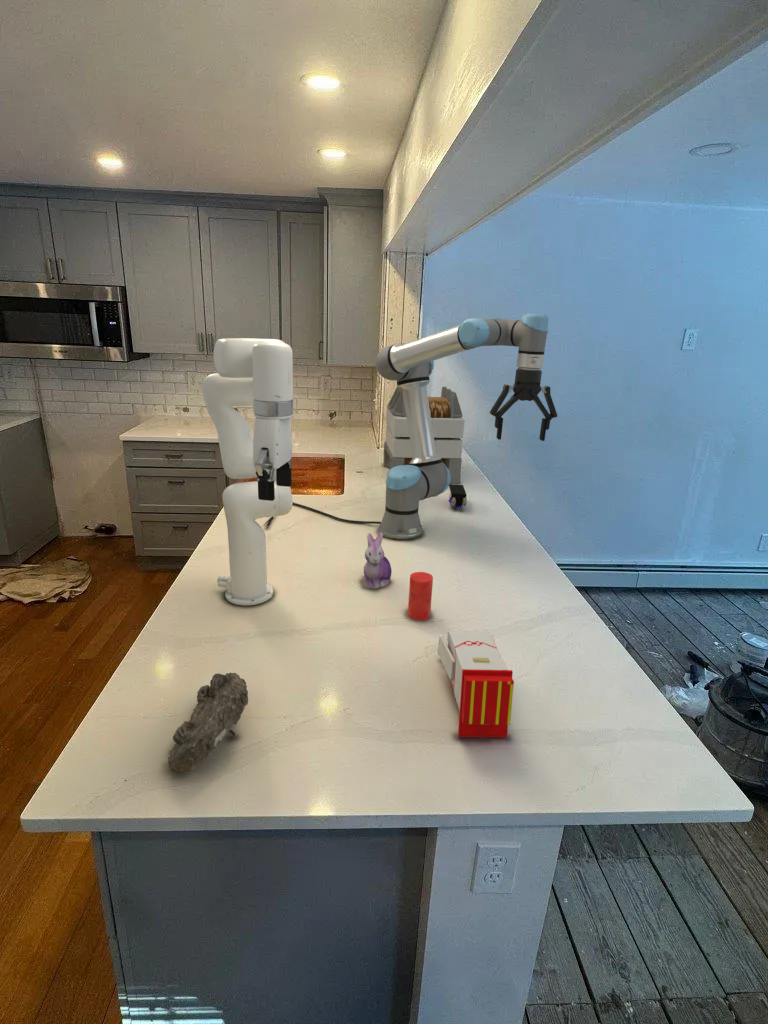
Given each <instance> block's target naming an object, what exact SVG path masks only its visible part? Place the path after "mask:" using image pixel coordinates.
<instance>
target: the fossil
mask: <svg viewBox="0 0 768 1024" xmlns="http://www.w3.org/2000/svg"><path fill="white" fill-rule="evenodd" d="M247 688H248V686H247V682H246V680H245V679H244V678H242V677H240V674H237V672H229V673H228V672H226V673H225V674H222V673H219V672H218V673H214V674H213V675H212V678H211V679H210V681H209V684H206V685H203V686H200V687H199V688H198V690H197V693H196V694H197V695H196V702H197V703H196V705H195V706H194V708H193V712H191V715H190V717H189V719H190V720H189V721H188V720H185V721H183V722H182V724H181V725H179V726H178V727H177V728H176V730H175V732H174V734H173V735H172V741H173V742H174V743H175V744H174V745H173V747H172V748H171V750H169V752H168V757H167V760H168V761H167V765H168V767H169V769H170V770H173V771H175V773H180V772H181V773H182V772H184V771H190V770H191V771H194V770H196V769H197V768H198V767H199V766H200V765H201V764H202V763H203V762H204V761H205V760H207V758H208V757H209V756H210V755H211V754H212V753H213V752H214V751H215V750H216V749H217V748H218V747H220V745H221V744H222V742H223V739H225V738H226V737H227V736H228V734H231V735H232V736H233V737H235V736H237V735H236V732H235V731H233V729H232V727H233V726H234V725H237V723H239V721H240V720H241V717H242V715H243V713H244V711H245V707H246V706H247V705H248V703H249V696H248V695H249V691H248V690H247Z"/></svg>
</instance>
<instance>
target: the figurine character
mask: <svg viewBox="0 0 768 1024" xmlns="http://www.w3.org/2000/svg"><path fill="white" fill-rule="evenodd" d="M448 488H449V491H450V492H449V494H448V502H449V505H450V507H452V509H453V511H456V509H460V511H463V507H464V508H465V507H467V503H468V498H467V492H466V489H465V487H464V484H457V483H450V484H449V487H448Z"/></svg>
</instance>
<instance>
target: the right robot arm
mask: <svg viewBox="0 0 768 1024" xmlns="http://www.w3.org/2000/svg"><path fill="white" fill-rule="evenodd" d="M548 333H549V316H548V315H547V314H546V313H527V312H526V313H523V314H522V317H521V319H507V318H480V317H473V318H467V319H465V320H464V321H463V322H462V323H461V324H458V325H456V326H452V327H451V328H447V329H443V330H442V331H437V332H436V333H433V334H430V335H427V336H424V337H422V338H418V339H416V340H413V341H409V342H407V343H400V342H398V343H394V344H391V345H387V346H384V347H383V348H381V349H380V350H379V351H378V353H377V355H376V357H375V368H376V370H377V372H378V374H379V375H380V376H381V377H382V378H384V379H385V380H388V381H396V388H397V387H398V388H399V389H401V390H402V392H403V398H404V404H405V411H406V417H407V423H408V430H409V436H410V443H411V449H412V455H413V458H412V460H411V461H410V465H404V466H403V465H400V466H396V467H393V468H391V469H390V468H389V470H388V472H387V474H386V479H385V504H384V505H385V507H384V508H385V509H384V513H383V515H382V519H381V521H368V520H367V521H365V520H353V519H346V518H342V517H338V516H336V515H332V514H329V513H327V512H324V511H321V510H318V509H317V508H313V507H311V506H307V505H303V504H300V503H297V502H293V501H292V506H296V507H300V508H304V509H306V510H310V511H312V512H316V513H318V514H321V515H324V516H326V517H329V518H332V519H335V520H338V521H341V522H345V523H351V524H352V523H353V524H366V525H367V524H369V525H371V524H373V525H378V533H381V532H382V533H383V538H384V537H385V538H387V539H389V540H395V541H410V540H415V539H418V538H420V537H421V536H422V535H423V525H422V524H421V518H420V515H419V507H420V506H419V505H420V501H423V500H426V499H430V498H434V497H438V496H439V495H441V494H444V493H445V492H446V491H447V489H448V488H449V484H451V483H450V479H451V476H450V472H449V469H448V468H447V467H446V465H445V464H443V463H442V459H441V457H440V456H438V455H437V454H436V448H435V441H434V435H433V428H432V422H431V415H430V408H429V402H428V397H429V396H428V395H429V394H428V389H427V387H428V385H429V383H430V382H431V380H430V376H431V375H432V374H433V370H434V368H435V367H434V366H435V362H434V361H436V360H440V359H443V358H446V357H449V356H452V355H455V354H459V353H462V352H466V351H470V350H473V349H476V348H480V347H494V346H495V347H496V346H497V347H498V346H504V347H505V346H506V347H516V348H517V347H518V351H517V358H516V359H517V360H516V369H515V376H514V383H513V385H509V384H508V383H505V384H503V386H502V390H501V392H500V394H499V396H498V397H497V399H496V401H495V402H494V403H493V406H492V407H491V409H490V411H489V415H491V416H493V417H494V428H495V429H497V430H496V436H495V438H496V439H497V440H500V441H501V440H502V433H503V424H504V417H503V416H504V415H505V413H506V412H508V410H509V409H511V407H512V406H514V404H515V403H517V402H518V401H522V402H524V401H528V402H532V401H533V402H534V403H535V405H536V407H538V409H539V411H540V413H542V415H543V416H544V417H541V424H540V431H539V438H538V439H539V440H540V441H541V442H544V441H545V440H546V434H547V431H548V430H550V427H551V420H552V419H555V418H558V413H557V410H556V406H555V404H554V400H553V397H552V395H551V386H550V385H549V386H548V385H544V386H541V382H542V374H543V371H542V370H541V369H543V367H544V360H545V359H544V358H545V351H546V344H547V338H548ZM511 391H512V392H513V394H512V395H511V396H510V398H509V399H508V400H507V401H506V402H505V403H504V401H505V400H506V398H507V396H508V394H509V393H510V392H511ZM540 392H541V393H542V394H543V397H544V399H545V402H546V404H547V407H548V409H547V408H546V407H545V405H544V404H543V402H542V400H541V399H540V397H539V396H538V395H539V394H540ZM503 403H504V404H503ZM502 404H503V405H502Z"/></svg>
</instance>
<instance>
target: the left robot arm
mask: <svg viewBox="0 0 768 1024" xmlns="http://www.w3.org/2000/svg"><path fill="white" fill-rule="evenodd" d="M212 356H213V364H214V368H215V370H216V372H215V373H211V374H209V375H206V377H204V379H203V381H202V384H201V385H202V389H201V390H202V398H203V402H204V405H205V408H206V410H207V413H208V414H209V416H210V417H209V418H210V419H211V420H212V423H213V424H214V427H215V429H216V433H217V439H218V446H219V452H220V457H221V463H222V469H223V471H224V474H225V475H226V477H228V478H230V479H233V480H244V479H245V480H247V479H256V480H253V481H245V482H243V481H242V482H236V483H232V484H230V485H228V486H226V487H225V488H224V490H223V491H222V496H221V497H222V498H221V500H222V506H223V511H224V516H225V519H226V520H225V521H226V527H227V542H228V557H229V575H230V576H223V575H218V576H217V578H216V580H217V587H219V588H225V589H226V590H225V593H224V596H225V599H226V600H227V601H228V603H229V602H230V603H231V604H233V605H236V606H237V605H238V606H257V605H260V604H263V603H265V602H267V601H269V600H270V599H271V598H272V597H273V595H274V588H273V587H272V585H271V584H270V583H268V571H267V569H268V568H267V537H266V536H267V535H266V532H265V530H264V528H263V527H262V526H261V524H260V523H258V522H257V521H256V520H258V519H259V520H260V519H265V518H271V517H274V518H275V517H281V516H286V515H288V514H290V512H291V511H292V508H293V504H292V502H293V494H292V488H291V487H292V486H293V485H292V484H293V481H292V479H293V477H292V473H293V472H292V467H293V463H292V458H293V432H292V420H291V418H292V419H293V417H294V367H293V366H294V365H293V361H294V360H293V359H294V357H293V349H292V347H291V345H290V344H289V343H285V341H283V340H281V339H277V338H250V337H239V338H238V337H233V338H231V337H230V338H229V337H227V338H219V339H217V340H216V342H215V344H214V347H213V355H212ZM239 406H240V407H242V406H243V407H246V406H253V417H254V426H253V436H252V431H251V424H250V423H249V422H248V420H247V419H246V418H245V416H243V415H242V414H241V412H240V411H238V410H236V409H234V408H233V407H239Z"/></svg>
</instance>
